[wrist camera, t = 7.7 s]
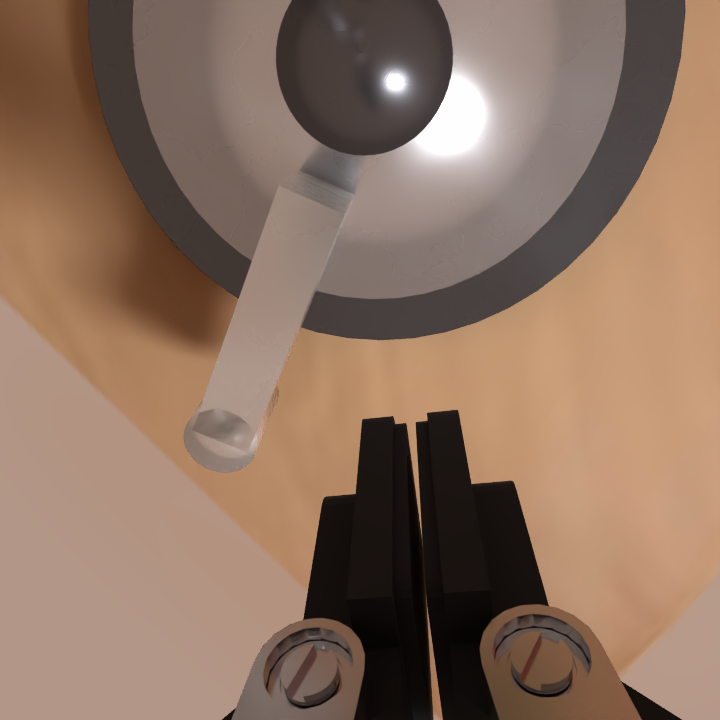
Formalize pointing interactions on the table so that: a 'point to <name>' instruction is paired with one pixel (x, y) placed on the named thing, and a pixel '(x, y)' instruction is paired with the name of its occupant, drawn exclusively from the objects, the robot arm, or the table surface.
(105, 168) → the table surface
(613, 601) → the table surface
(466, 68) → the dial
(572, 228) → the stand
